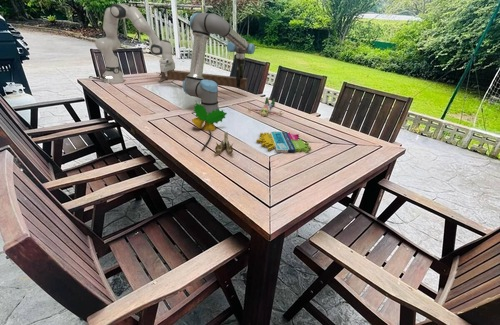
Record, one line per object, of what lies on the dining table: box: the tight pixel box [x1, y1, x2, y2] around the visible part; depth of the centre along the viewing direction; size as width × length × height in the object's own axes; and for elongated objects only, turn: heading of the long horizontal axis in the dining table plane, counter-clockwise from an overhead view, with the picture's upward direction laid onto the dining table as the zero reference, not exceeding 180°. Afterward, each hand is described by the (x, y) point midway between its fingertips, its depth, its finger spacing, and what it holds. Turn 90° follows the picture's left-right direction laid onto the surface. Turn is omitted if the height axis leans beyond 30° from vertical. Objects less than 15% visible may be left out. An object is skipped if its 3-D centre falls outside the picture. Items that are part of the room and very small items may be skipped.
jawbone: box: [214, 131, 234, 156], centre depth 136 cm, size 9×15×10 cm
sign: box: [256, 131, 312, 154], centre depth 152 cm, size 26×2×30 cm
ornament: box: [191, 102, 228, 132], centre depth 162 cm, size 21×8×15 cm, turn 105°
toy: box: [246, 97, 284, 117], centre depth 201 cm, size 28×7×30 cm
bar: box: [160, 69, 248, 89], centre depth 236 cm, size 81×6×8 cm, turn 76°
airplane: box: [157, 69, 175, 83], centre depth 276 cm, size 38×32×10 cm
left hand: (168, 75), depth 243 cm, fingers closed on bar, 5 cm apart
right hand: (239, 86), depth 231 cm, fingers closed on bar, 6 cm apart
